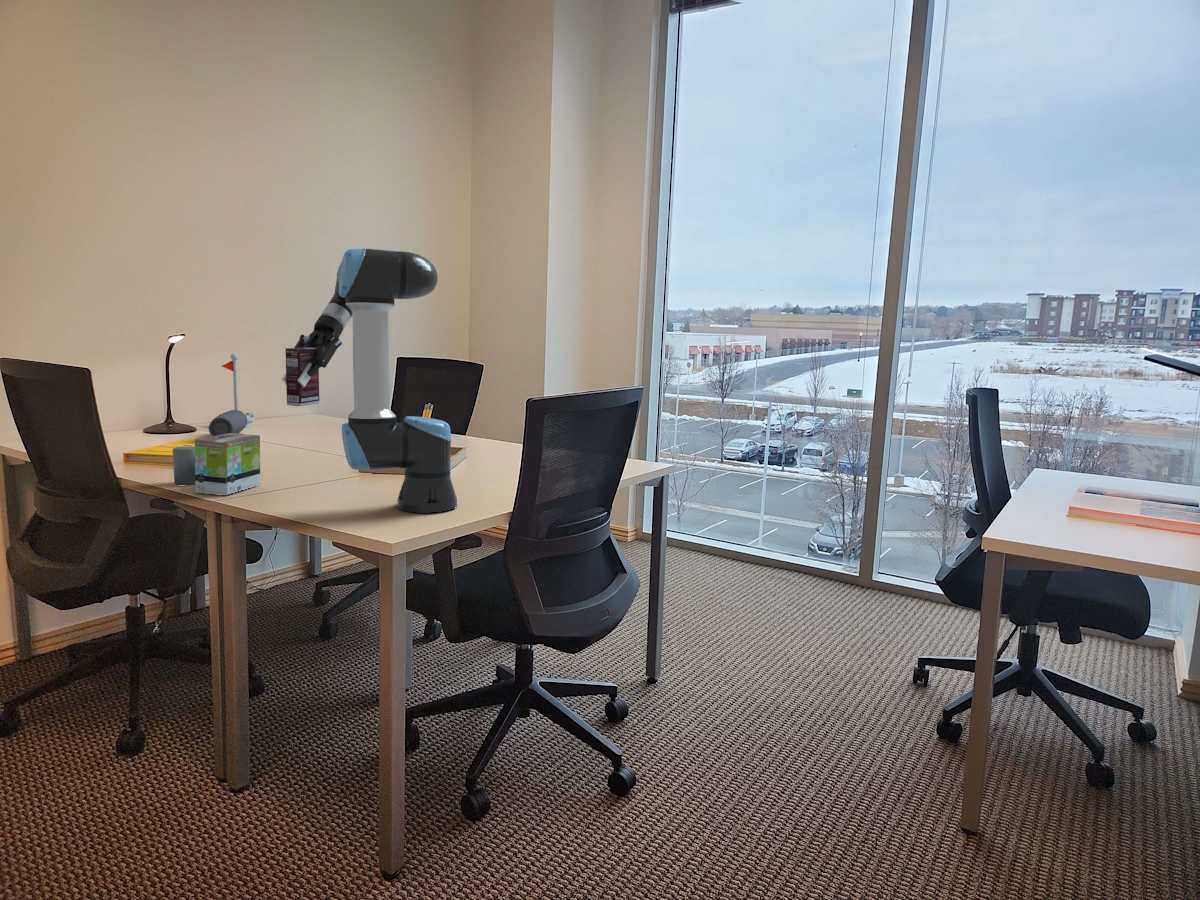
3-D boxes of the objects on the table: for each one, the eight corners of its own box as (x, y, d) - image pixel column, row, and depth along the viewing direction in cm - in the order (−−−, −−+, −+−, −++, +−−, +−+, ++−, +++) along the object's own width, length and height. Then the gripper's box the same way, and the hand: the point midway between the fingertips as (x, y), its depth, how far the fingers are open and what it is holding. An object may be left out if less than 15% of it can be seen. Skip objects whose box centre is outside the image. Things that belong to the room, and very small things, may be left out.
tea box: (228, 497, 220) (226, 441, 217) (194, 493, 222) (192, 439, 219) (262, 485, 234) (260, 433, 232) (230, 483, 236) (228, 431, 234)
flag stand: (248, 424, 347) (246, 352, 342) (259, 428, 337) (256, 354, 332) (215, 426, 339) (212, 352, 334) (225, 430, 329) (222, 354, 324)
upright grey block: (207, 482, 235) (206, 447, 234) (187, 487, 229) (185, 451, 227) (189, 479, 238) (187, 445, 236) (168, 484, 231) (166, 448, 230)
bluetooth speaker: (223, 434, 320) (222, 408, 319) (249, 434, 322) (248, 408, 320) (207, 443, 298) (206, 415, 297) (234, 443, 300) (233, 416, 298)
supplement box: (306, 402, 239) (305, 346, 237) (320, 403, 238) (319, 348, 235) (285, 405, 231) (284, 347, 229) (299, 406, 230) (298, 348, 227)
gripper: (363, 333, 242) (326, 394, 230) (313, 330, 249) (275, 389, 236) (350, 314, 236) (312, 376, 224) (300, 312, 243) (260, 372, 230)
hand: (293, 382), depth 230 cm, fingers closed on supplement box, 5 cm apart
